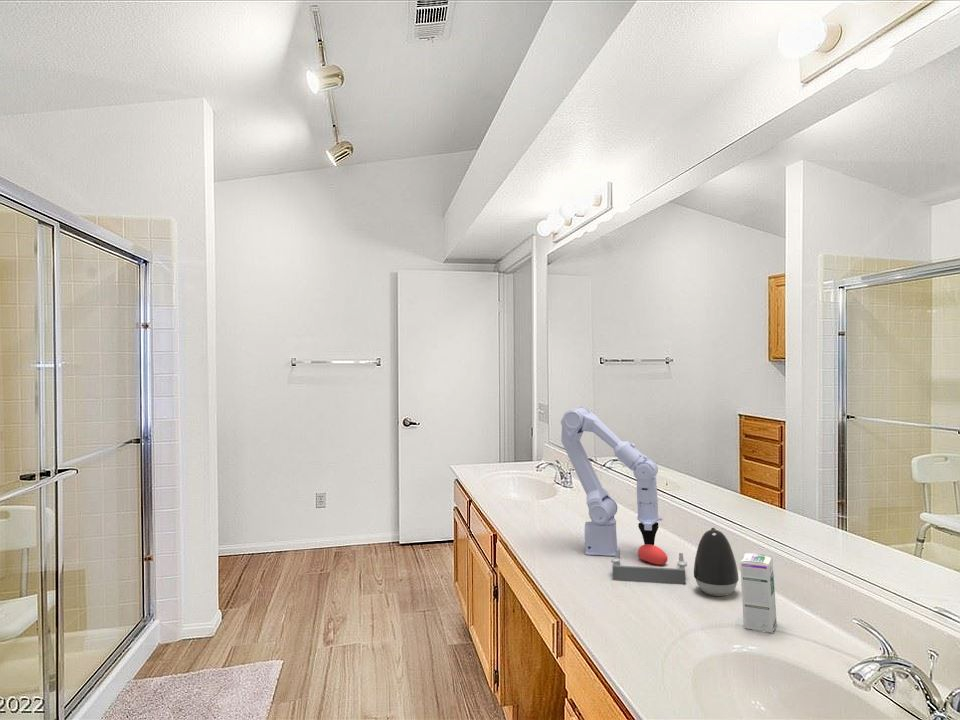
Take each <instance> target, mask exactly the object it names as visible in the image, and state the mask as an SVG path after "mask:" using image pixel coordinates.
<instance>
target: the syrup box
mask: <svg viewBox="0 0 960 720" xmlns="http://www.w3.org/2000/svg"><path fill="white" fill-rule="evenodd" d="M773 564H774V560H773V556H770V555H766V554H762V553H761V554H759V553H745V552H744V555H743V556H742V557H741V559H740V561H739V565H740V566H739V567H740V582H741V584H740V585H741V599H742V601H741V602H742V614H743V615H742V617H743V628H744V629H746V628H747V629H748V630H750V629H753V630H752V631H755V630H759V631H758V632H761V631H765V632H764V633H767V632H771V633H770V634H774V632H773V631H775V629H774V628H776V626H777V622H778V621H777V608H776V593H775V591H776V590H775V576H774V565H773ZM747 629H746V630H747Z"/></svg>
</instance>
